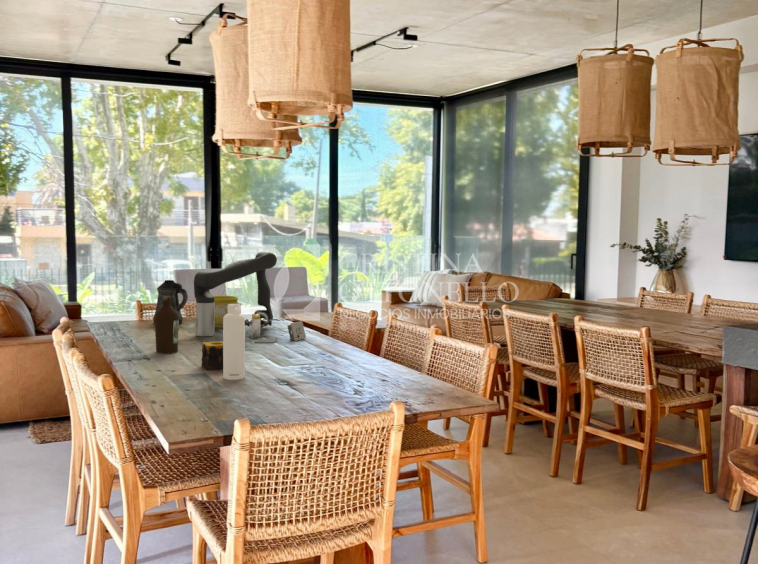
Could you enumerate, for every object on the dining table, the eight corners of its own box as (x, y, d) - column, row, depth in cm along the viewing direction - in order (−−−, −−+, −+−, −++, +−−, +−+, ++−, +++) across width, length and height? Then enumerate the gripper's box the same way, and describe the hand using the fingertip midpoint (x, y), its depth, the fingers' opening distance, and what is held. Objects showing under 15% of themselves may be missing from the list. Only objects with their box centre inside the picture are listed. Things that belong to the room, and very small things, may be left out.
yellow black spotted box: (206, 370, 282) (206, 346, 281) (200, 366, 291) (200, 342, 290) (232, 368, 287) (232, 344, 286) (225, 364, 295) (225, 340, 295)
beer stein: (154, 321, 416) (153, 279, 414) (188, 321, 420) (188, 279, 418) (152, 325, 400) (151, 281, 398) (187, 325, 404) (187, 281, 402)
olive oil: (151, 353, 316) (151, 298, 314) (158, 349, 326) (157, 295, 324) (175, 354, 316) (175, 298, 314) (181, 349, 327) (181, 295, 324)
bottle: (234, 380, 265) (234, 306, 262) (218, 378, 269) (218, 304, 267) (249, 377, 272) (249, 304, 269) (233, 374, 276) (233, 302, 274)
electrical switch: (295, 341, 355) (294, 323, 354) (287, 341, 357) (286, 323, 357) (306, 339, 363) (305, 321, 362) (298, 339, 365) (296, 321, 365)
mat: (254, 343, 348) (254, 341, 348) (256, 339, 358) (256, 338, 358) (274, 343, 348) (274, 342, 348) (276, 339, 358) (276, 338, 358)
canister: (251, 338, 361) (251, 315, 360) (252, 337, 366) (252, 314, 365) (259, 338, 362) (259, 315, 361) (260, 337, 366) (260, 314, 365)
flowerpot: (234, 328, 394) (234, 299, 393) (202, 328, 394) (202, 298, 393) (241, 324, 412) (241, 295, 411) (210, 323, 412) (210, 295, 411)
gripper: (246, 313, 381) (242, 317, 365) (273, 313, 382) (270, 317, 366) (246, 327, 382) (242, 331, 366) (273, 327, 383) (270, 331, 366)
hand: (256, 324), depth 366 cm, fingers open, 8 cm apart
